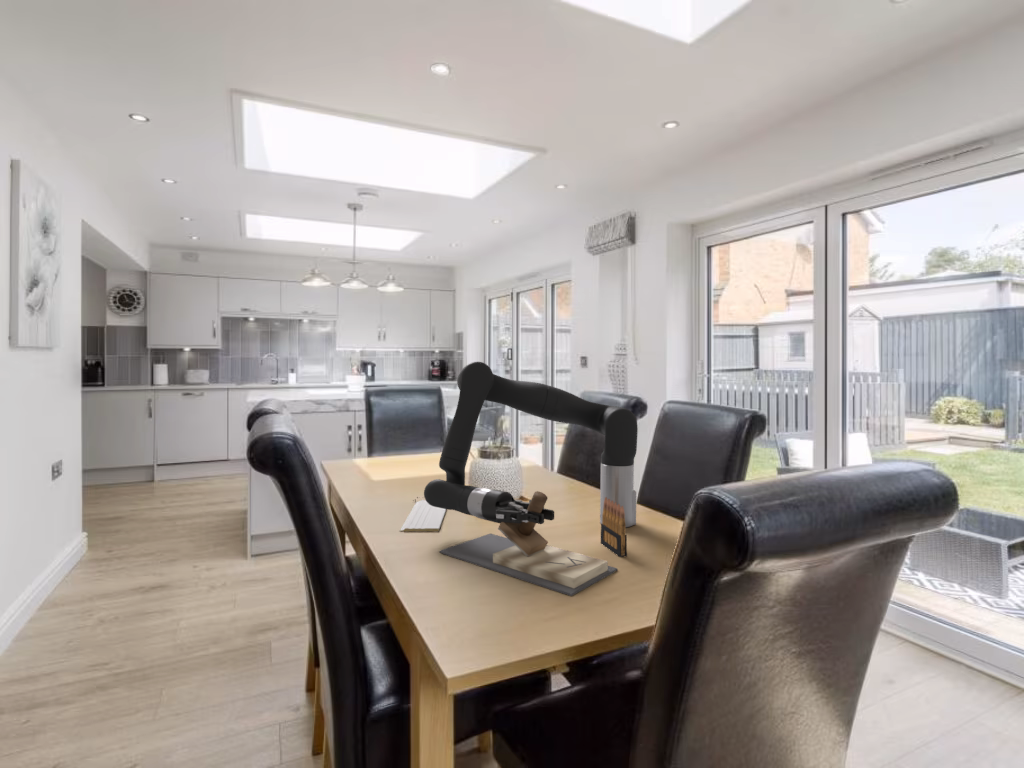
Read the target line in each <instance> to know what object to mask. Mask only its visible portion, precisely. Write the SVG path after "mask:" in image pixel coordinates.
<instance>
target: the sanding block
mask: <svg viewBox="0 0 1024 768" xmlns="http://www.w3.org/2000/svg"><path fill="white" fill-rule="evenodd" d="M530 500H531V501H530V504H529V506H528V508H527V510H529V512H530V511H533V512H537V513H541V512H542V510H543V507H544V508H545V506H546V503H547V501H548V496H547V495H546V494H545V493H543V492H542V491H538V490H537V491H534V493H533V495H532V497H531V499H530ZM536 525H537V523H533V522H523V521H522V523H520V524H518V523H509V522H501V523H499V525H498V528H497V529H498V531H499V532H500V533H501V534H502V535H504V537H505V538H508V539H509V540H510V541H511V542H512V543H513V544H514V545H515V546H516V547H518V548H519V549H520V550H521V551H522V552H523V553H524V554H525V555H526V556H527V557H529V556H532V555H534V554H536V553H539V552H541V551H544V549H545V547H546V545H548V543H549V541H548V540H547V539H546V538H544V537H543V535H541V534H540V533H539V532H538V531H537V530H535V527H536Z"/></svg>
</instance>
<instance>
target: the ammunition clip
mask: <svg viewBox="0 0 1024 768" xmlns="http://www.w3.org/2000/svg"><path fill="white" fill-rule="evenodd" d="M627 538H628V536H627V534H626V527H625V513H624V508H623V506H621V507H620V504H618V506H617V504H616V502H615V503H614V502H613V500H612V501H610V499H608V500H607V497H605V500H604V507H603V515H602V524H601V523H600V544H601V545H602V544H603V545H602V546H604V547H605V548H606V547H607V549H608V550H609V549H610V550H609V551H611V552H612V553H613V552H614V553H613V554H615V555H616V554H617V555H618V556H617V555H616V556H617V557H619V558H624V556H626V557H627V555H628V550H627V549H628V548H627V545H628V543H627V542H628V541H627V540H628V539H627Z"/></svg>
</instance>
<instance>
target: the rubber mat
mask: <svg viewBox="0 0 1024 768" xmlns="http://www.w3.org/2000/svg"><path fill="white" fill-rule="evenodd" d="M512 546H515V545H514V544H513V543H512V542H511V541H510V540H509V539H508V538H507V537H506V536H502V535H501V536H500V535H498V534H493V533H487V534H485V535H481V536H478V537H475V538H472V539H470V540H466V541H464V542H460V543H458V544H456V545H453V546H449V547H446V548H443V549H439V553H440V554H443V555H445V556H448V557H452V558H455V559H457V560H458V559H459V560H461V561H464V562H467V563H470V564H473V565H476V566H479V567H481V566H482V568H484V569H487V570H491V571H494V572H497V573H500V574H503V575H506V576H509V577H512V578H516V579H519V580H521V581H524V582H527V583H531V584H533V585H537V586H539V587H542V588H546V589H549V590H551V591H555V592H557V593H561V594H563V595H566V594H567V596H568V597H569V596H570V597H572V596H574V595H576V594H578V593H579V592H582V591H583V590H585V589H586V588H588V587H590V586H592V585H594V584H596V583H598V582H599V581H601V580H602V579H604V578H606V577H608V576H610V575H612V574H614V573H616V572H618V568H617V567H614V566H611V565H608V570H607V571H605V572H604V573H602V574H600V575H598V576H596V577H594V578H592V579H591V580H589V581H587V582H585V583H583V584H581V585H580V586H578V587H576V588H571V587H568V586H565V585H562V584H559V583H556V582H552V581H549V580H546V579H543V578H540V577H537V576H534V575H530V574H527V573H524V572H521V571H518V570H515V569H512V568H508V567H505V566H502V565H499V564H496V563H493V554H494V553H496V552H499V551H502V550H504V549H507V548H509V547H512ZM615 571H616V572H615Z"/></svg>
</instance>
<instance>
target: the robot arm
mask: <svg viewBox="0 0 1024 768" xmlns="http://www.w3.org/2000/svg"><path fill="white" fill-rule="evenodd" d="M457 376H458V377H457V380H456V381H457V382H456V383H457V384H456V385H457V387H458V390H459V395H458V401H457V404H456V410H455V413H454V416H453V419H452V421H451V424H450V426H449V430H448V432H447V435H446V438H445V440H444V444H443V447H442V451H441V455H440V457H439V458H440V459H439V463H438V466H439V468H440V469H441V470H442V471H444V472H445V474H446V475H445V477H446V478H445V479H446V480H443V479H440V478H439V479H433V480H431V481H429V482H428V483H427V484H426V486H425V487H424V490H423V498H424V500H426V501H427V503H428V504H429V505H431V506H434V507H438V508H443V509H446V510H449V511H455V512H458V513H461V514H464V515H468V516H471V517H472V516H473V517H475V518H478V519H480V520H485V521H488V522H493V523H497V524H500V523H501V522H509V523H518V524H520V523H522V521H523V522H533V523H536V524H539V525H542V524H545V520H547V521H554V520H555V510H553V509H550V508H549V509H548V508H545V506H544V507H543V510H542V512H541V513H537V512H533V511H530V512H529V510H527V508H528V506H529V504H530V501H531V499H529V500H528V501H523V500H522V499H521V500H520V499H515V497H514V496H513V495H512V494H511V492H508V491H505V490H499V489H495V488H489V487H478V486H472V485H465V483H466V466H467V462H468V459H469V454H470V451H471V448H472V443H473V439H474V436H475V435H474V434H475V431H476V427H477V424H478V420H479V416H480V413H481V411H482V408H483V405H484V403H485V401H486V402H492V403H496V404H501V405H504V406H507V407H509V408H513V409H515V410H517V411H521V412H522V413H526V414H529V415H532V416H534V417H538V418H541V419H544V420H549V421H551V422H555V423H556V422H557V423H561V424H572V425H579V426H581V427H585V428H587V429H590V430H593V431H595V432H597V433H600V434H602V435H604V436H605V437H604V449H603V452H601V455H600V491H599V492H600V495H599V496H600V497H599V498H600V499H599V500H600V501H599V502H600V505H599V506H600V509H599V510H600V511H599V512H600V513H599V514H600V515H599V523H600V525H601V524H602V515H603V507H604V500H605V497H607V500H608V499H610V501H612V500H613V502H614V503H615V502H616V504H617V506H618V504H620V507H621V506H623V508H624V513H625V528H630V527H632V526H634V525H637V491H636V490H634V483H635V482H634V480H635V479H634V478H635V475H634V471H635V466H634V464H635V457H636V455H637V448H638V428H639V427H638V421H637V418H636V417H637V416H636V415H635V414H634V413H633V412H632V411H631V410H630V409H628V408H625V407H621V406H617V405H616V406H615V405H608V404H602V403H597V402H593V401H588V400H586V399H583V398H581V397H579V396H577V395H576V394H573V393H571V392H569V391H566V390H563V389H561V388H558V387H555V386H551V385H548V384H544V383H541V382H534V381H528V380H527V381H525V380H524V381H523V380H516V379H515V380H514V379H509V378H505V377H503V376H499V375H497V374H494V373H493V370H492V369H491V367H490V366H489V365H488V364H487V363H485V362H484V361H483V362H482V361H473V362H470V363H468V364H466V365H464V367H463V368H462V369H461V371H460V372H459V374H458V375H457Z"/></svg>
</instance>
